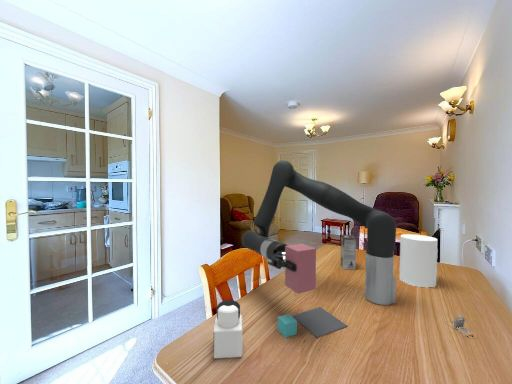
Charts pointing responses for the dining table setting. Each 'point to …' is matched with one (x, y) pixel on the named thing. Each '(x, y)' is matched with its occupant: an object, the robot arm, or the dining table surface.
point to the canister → (418, 260)
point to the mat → (319, 322)
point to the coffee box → (348, 251)
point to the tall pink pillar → (301, 268)
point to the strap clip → (460, 324)
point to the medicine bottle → (228, 330)
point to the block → (287, 325)
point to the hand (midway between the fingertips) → (305, 266)
